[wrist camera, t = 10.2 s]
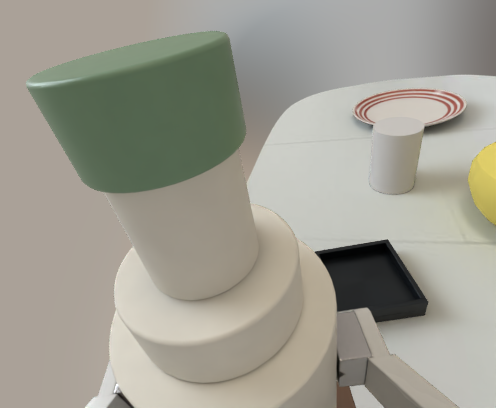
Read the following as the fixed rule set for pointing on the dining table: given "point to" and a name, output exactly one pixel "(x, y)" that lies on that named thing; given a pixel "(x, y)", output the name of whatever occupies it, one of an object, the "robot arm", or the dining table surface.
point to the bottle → (192, 233)
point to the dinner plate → (411, 105)
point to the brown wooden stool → (344, 397)
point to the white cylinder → (395, 154)
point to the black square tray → (373, 281)
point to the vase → (484, 181)
